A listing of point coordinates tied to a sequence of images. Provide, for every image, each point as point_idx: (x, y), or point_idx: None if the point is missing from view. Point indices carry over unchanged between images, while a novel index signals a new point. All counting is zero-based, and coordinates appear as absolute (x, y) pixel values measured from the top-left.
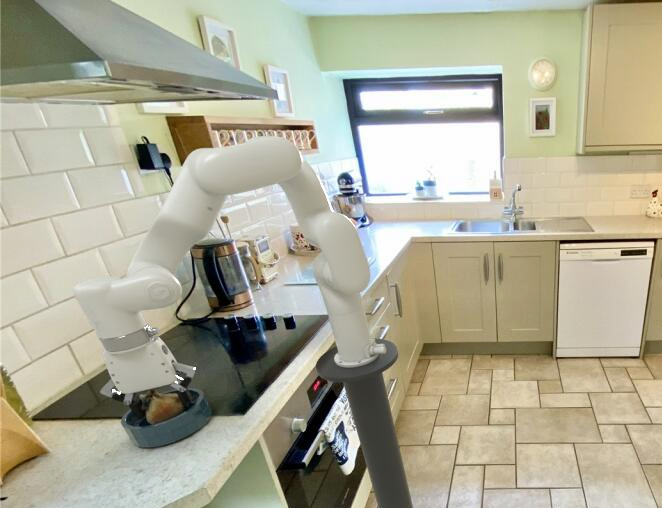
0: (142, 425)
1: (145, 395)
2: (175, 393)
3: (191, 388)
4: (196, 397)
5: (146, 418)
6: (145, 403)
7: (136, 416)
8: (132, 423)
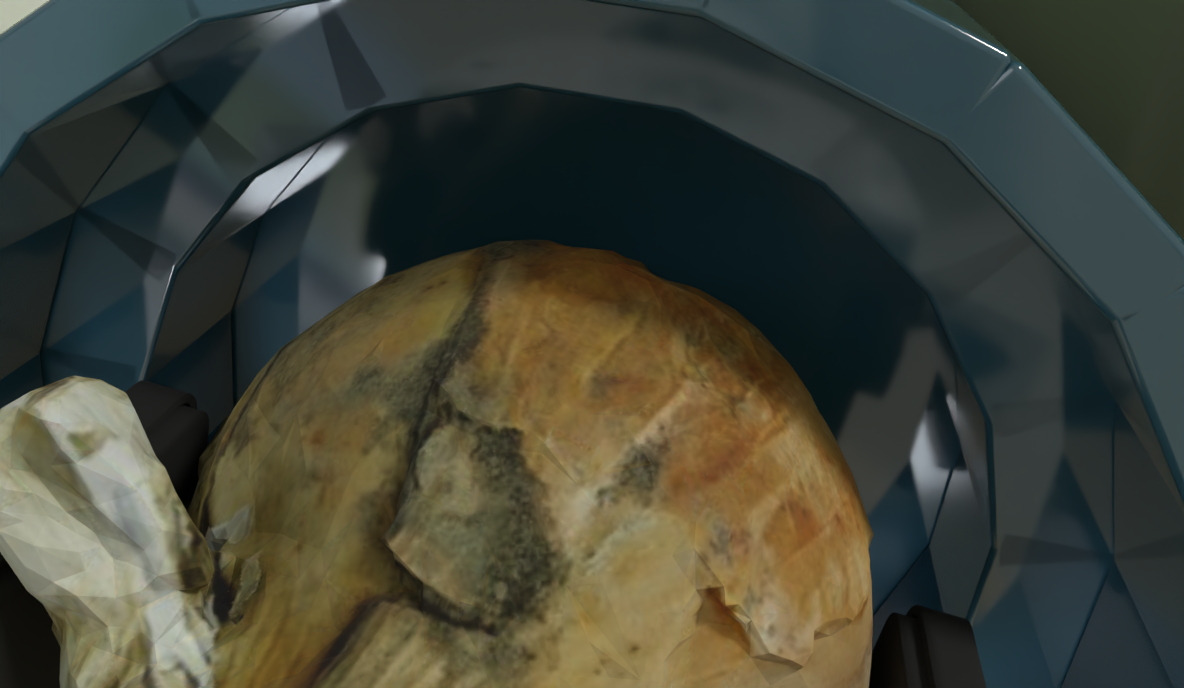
0: (185, 341)
1: (88, 489)
2: (767, 661)
3: (1148, 259)
4: (1081, 304)
5: (212, 239)
6: (118, 85)
7: (46, 224)
8: (37, 348)
